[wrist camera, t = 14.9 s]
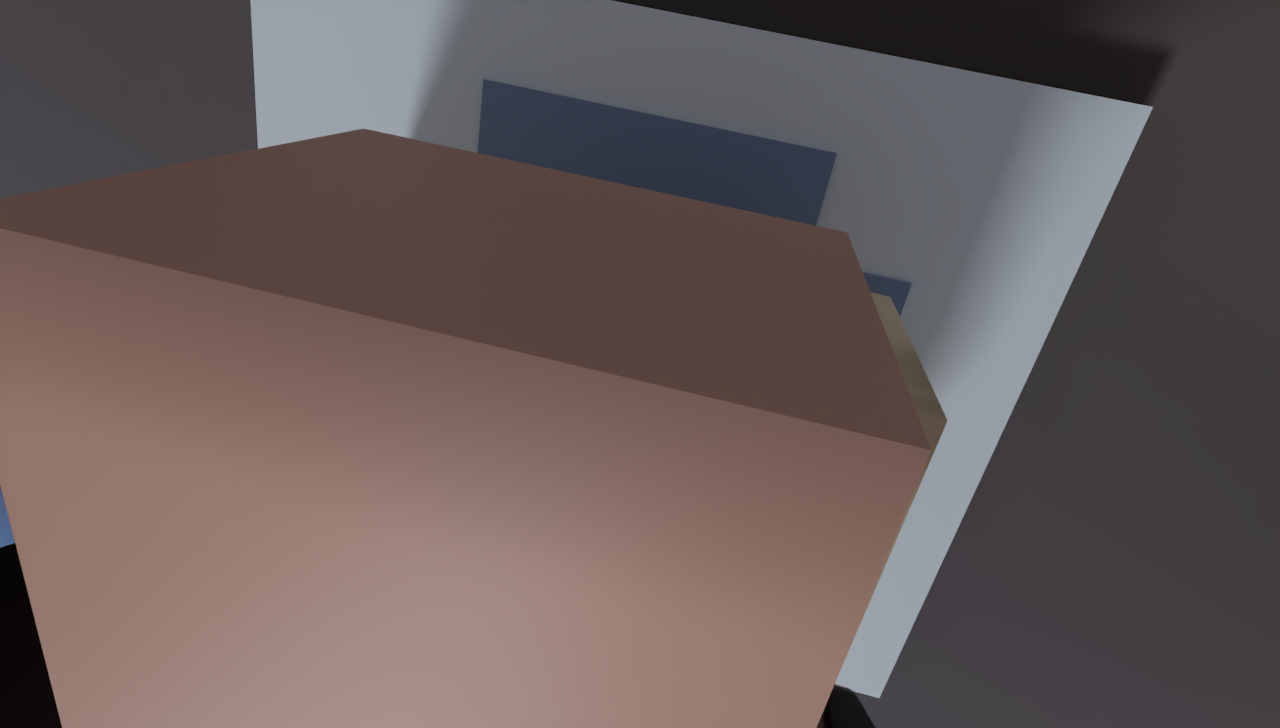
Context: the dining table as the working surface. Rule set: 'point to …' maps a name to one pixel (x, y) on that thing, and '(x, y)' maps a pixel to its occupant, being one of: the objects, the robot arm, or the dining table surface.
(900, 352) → the brick
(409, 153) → the brick
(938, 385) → the blueprint board
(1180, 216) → the dining table surface
